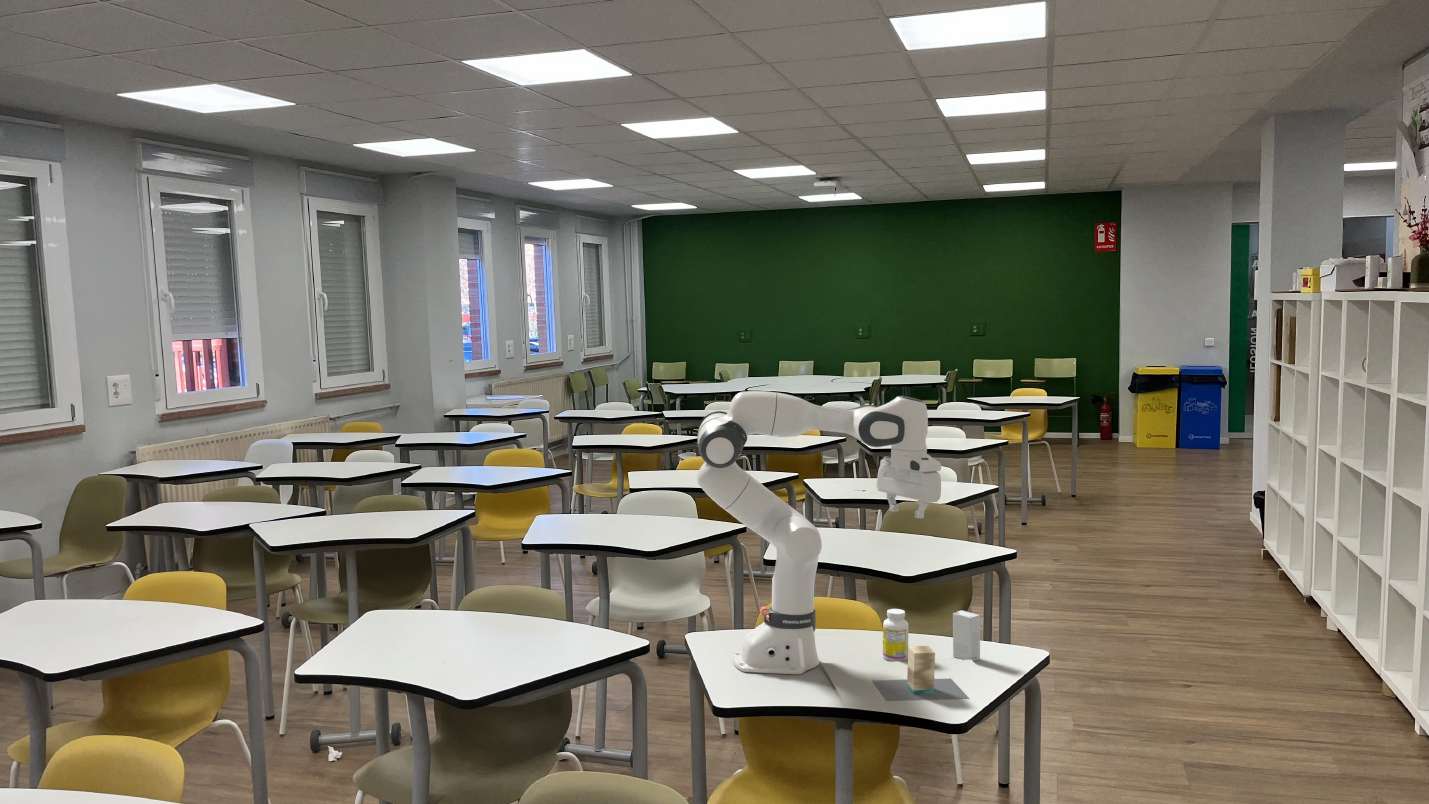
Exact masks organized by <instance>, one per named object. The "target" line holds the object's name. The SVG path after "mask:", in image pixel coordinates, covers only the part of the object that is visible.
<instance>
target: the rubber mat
mask: <svg viewBox="0 0 1429 804" xmlns="http://www.w3.org/2000/svg"><path fill="white" fill-rule="evenodd" d="M872 683H873V684H874V686H875V687H876V689H878V691H879V693H880V694H881V696H882V697H883V698H884V700H885V701H886V702H899V701H900V702H902V701H903V702H904V701H905V702H907V701H908V702H909V701H931V700H932V701H935V700H936V701H938V700H939V701H940V700H969V699H971V698H970V697H969V696H968V695H967V694H966V693H965V692H964V691H963V690H962V688H960V686H959V685H958V684H957V683H956V682H955V681H954V679H952V678H949V677H948V678H934V694H913V693H912V692H911V691H910V689H909V688H908V687H907V679H884V680H883V679H881V680H880V679H878V680H874V679H873V680H872Z"/></svg>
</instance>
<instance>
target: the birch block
mask: <svg viewBox="0 0 1429 804" xmlns="http://www.w3.org/2000/svg"><path fill="white" fill-rule="evenodd" d="M935 660H936V652H935V651H934V650H933V649H932V648H931V647H930V646H929V645H911V646H909V645H908V658H907V679H906V680H907V687H908V688H909V689H910V691H911V692H912V693H913V694H934V679H935V669H936V667H935V666H936V665H935V664H936V661H935Z"/></svg>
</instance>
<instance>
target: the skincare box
mask: <svg viewBox="0 0 1429 804" xmlns="http://www.w3.org/2000/svg"><path fill="white" fill-rule="evenodd" d="M952 656H953V657H954V658H957V659H960V660H963V661H964V660H965V661H966V660H967V661H968V660H969V661H972V662H976V661H979V660H980V659H981V614H976V613H973V612H969V611H966V610H959V611H958V610H957V611H955V612H953V613H952Z"/></svg>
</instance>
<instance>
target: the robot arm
mask: <svg viewBox="0 0 1429 804" xmlns="http://www.w3.org/2000/svg"><path fill="white" fill-rule="evenodd" d="M928 416H929V415H928V408H927V405H926V403H925V402H924V401H923V400H922V399H919V398H914V397H910V396H906V395H897V396H896V397H895V398H893V399H892V400H890V401H889V402H886V403H884V404H882V405H880V406H877V405H873V404H864V405H860V406H856V407H854V408H838V407H831V406H824V405H823V406H822V405H818V404H814V403H811V402H809V401H807V400H805V399H804V398H800V397H798V396H794V395H790V394H786V393H781V392H773V391H765V390H764V391H763V390H762V391H761V390H753V391H752V390H751V391H750V390H749V391H740V392H738V393H737V394H735V395H734V396H733V398H732V399H731V401H730V404H729V408H728V412H726V411H722V410H715V411H713V412H710V413H708V414H707V415H705V416H704V417H703V418H702V419H701V421H700V423H699V426H698V431H697V437H696V438H697V444H698V452H699V455H700V457H701V458H702V460H703V461H704V463H702V465H701V467H700V468H699V470H698V473H697V477H696V478H697V483H698V485H699V487H700V488H701V489H702V491H704V493H705V494H706V495H707V496H708V497H709V498H711V500H712V501H713V502H715V503H716V505H718V506H719V507H720V508H722V509H723V510H724V511H726V512H727V513H728V514H730V515H731V516H732V517H733V518H735V519H736V520H737V521H739V522H740V524H741V523H742V524H743V525H744V526H745V527H746V528H748V529H750V530H751V531H753V532H754V533H755V534H757V535H758V536H760V537H761V538H763V540H765V541H767V542H769V543H770V544H771V545H772V547H774V548H775V551H776V558H775V560H776V561H775V566H774V573H773V576H772V577H771V607H769V608H767V606H761V608H760V609H759V613H760V614H761V615H762V616H763V622H762V623H761V624H759V625H758V626H756V627H754V629H752V630H751V631H749V632H748V633H747V634H746V635H745V636H744V637H743V641H742V646H741V649H740V650H737V651H735V653H733V656H732V657H733V658H732V662H733V665H734V666H735V667H736V668H737V669H738V670H739V671H741V672H743V673H744V672H745V673H762V674H763V673H764V674H784V675H789V674H790V675H802V674H803V673H805V672H806V671H809V670H812V669H814V668H816V667H817V666H819V664H820V658H819V657H818V656H819V655H818V651H817V647H816V638H815V637H816V636H815V635H816V634H815V631H816V625H817V613H816V609H815V581H816V580H815V579H816V573H817V568H818V563H819V556H820V554H821V551H822V546H823V544H822V537H821V535H820V532H819V530H818V529H817V527H816V526H815V525H814V524H813V523H812V522H811V521H809V520H808V518H806V517H805V516H804V515H803V514H801V513H800V512H799V511H797V510H796V509H795V508H793V506H791V505H789V504H788V503H787V502H785V500H783V499H781V498H780V497H779V496H778V495H776V494H775V493H773V491H771V490H769V488H767V487H766V486H764V484H762V483H761V482H759V481H758V480H757V479H755V477H753V476H752V475H750V474H749V473H748V472H746V471H745V470H744V469H743V468H741V467H740V466H739V464H738V463H737V460H738V459H739V457H740V456H741V454H742V451H743V449H744V447H745V445H746V443H747V441H748V437H749V436H751V435H762V436H769V437H776V438H793V437H799V436H800V435H803V434H806V433H807V432H809V431H810V432H811V431H823V432H833V433H842V434H845V435H849V436H851V437H852V438H854V439H855V440H857V441H859V442H861V443H863V444H864V445H866V446H868V447H871V448H882V447H888V446H891V450H890V456H884V457H883V458H882V459H880V463H879V464H880V465H879V467H878V472H877V479H876V488H877V490H878V492H882V493H886V498H887V502H888V504H889V511H890V512H894V513H895V512H899V504H897V501H896V498H897V497H898V496H899V497H902V498H907V499H911V500H916V501H917V505H919V506H918V508H917V510H914V518H916V519H924V517H925V511H926V510H927V507H928V506H929V504H931V503H937V502H939V501H940V499H941V496H942V478H941V474H940V471H941V469H942V463H941V462H940V461H938V460H936V459H935V458H933V457H932V456H931V455H930V454H928V453H927V452H928V447H927V442H926V440H927V436H928V432H929V431H928V430H929V429H928V428H929V422H928V421H929V420H928V419H929V418H928Z"/></svg>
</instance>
